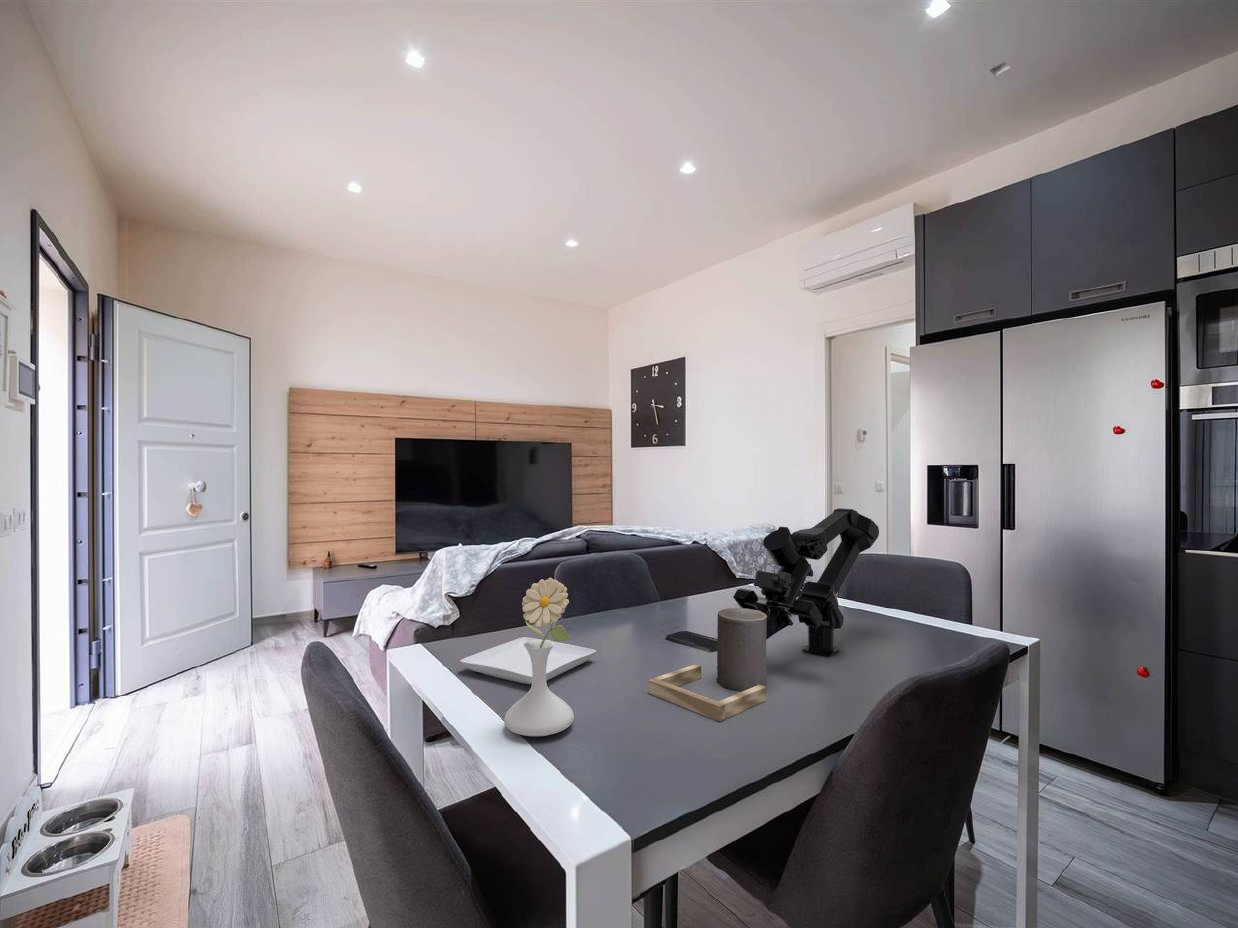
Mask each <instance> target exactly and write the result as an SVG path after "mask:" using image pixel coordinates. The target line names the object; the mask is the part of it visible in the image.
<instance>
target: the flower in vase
mask: <svg viewBox="0 0 1238 928" xmlns="http://www.w3.org/2000/svg"><path fill="white" fill-rule="evenodd" d="M567 591H568V588H567V586H565V585H564V584H563V583H561V582H559V580H557V579H553V578H552V577H549V578H547V579H545V580H544V579H543V578H542V579H540V580H539V582H537V583H532V584H531V587H530V588H528V589H526V591H525V594H526V595H525V596H524V597H523V598H522V602H521V606H522V611H523V615H522V617H523V618H524V620H525V624H526V626H527V627H528V628H529V629H530V630H531V631H532V632H534V633H535V634H538V635H539V636H541V637H543V639H541V640H532V641H528V642H526V643H524V647H525V648H526V649H527V651H528V653H529V655H530V658H531V663H532V684H531V687H530V688H529V690H528V692H527V693H526V694H524V696H522V697H521V698H519V699H518V700H517V701H516V702H515V703H513V705H511V707H510V708H509V709H508V710H507V711H506V713H505V716H504V720H503V722H504V725H505V726H506V728H507V730H509V731H511V732H512V733H515V734H517V735H519V736H520V735H521V736H525V737H545V736H550V735H554V734H558V733H560V732H563V731H564V730H566V729H567V728H568V727H570V726H571V724H572V723H573V721H574V719H575V715H574V714H575V713H574V711H573V709H572V707H571V706H569V704H568V703H567V702H565V700H563V699H562V698H560V697H559V696H558V695H556V694H554V692H552V691H551V690H550V688H549V687H548V683H547V681H546V666H547V660H548V656H549V653H550V651H551V649H552V647H553V646H554V644H555V643H554V642H559V643H560V642H564V641H565V642H566V641H569V640H571V638H570V636H569V634H568V632H567V630H566V629H565V627H564V625H562V624H559V625H556V626H553V625H554V623H556V622H557V621H558V620H560V619H561V616H562V615H561V614H564V613H565V611H566V608H567V606H568V604H569V603H570V601H569V599H567V598H568V596H569V593H568V592H567ZM531 624H533V625H534V626H535V627H534V626H533V625H531ZM548 624H550V627H549V629H548V631H547V632H546V634H544V633H543V632H542V630H540V629H538V628H540V627H543V628H544V627H545V626H547V625H548ZM549 635H551V637H552V639H553V641H552V640H549V639H547V638H548V636H549Z"/></svg>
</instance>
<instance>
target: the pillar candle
mask: <svg viewBox="0 0 1238 928" xmlns="http://www.w3.org/2000/svg"><path fill="white" fill-rule="evenodd" d="M766 625H767V616H766V614H765V613H762V612H761V611H758V610H752V609H745V608H742V607H740V606H739V607H730V608H724V609H720V610H718V611H717V627H716V628H717V631H716V632H717V638H716V639H717V651H716V653H717V654H716V655H717V656H716V659H717V661H716V662H717V663H716V664H717V665H716V672H717V673H716V674H717V676H716V683H717V684H718V685H719V686H721V687H723V688H725V689H728V690H731V691H736V692H743V691H745V690H747V689H750V688H752V687H755V686H757V685H762V686H765V687H767V686H766V684H767V640H766Z"/></svg>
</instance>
